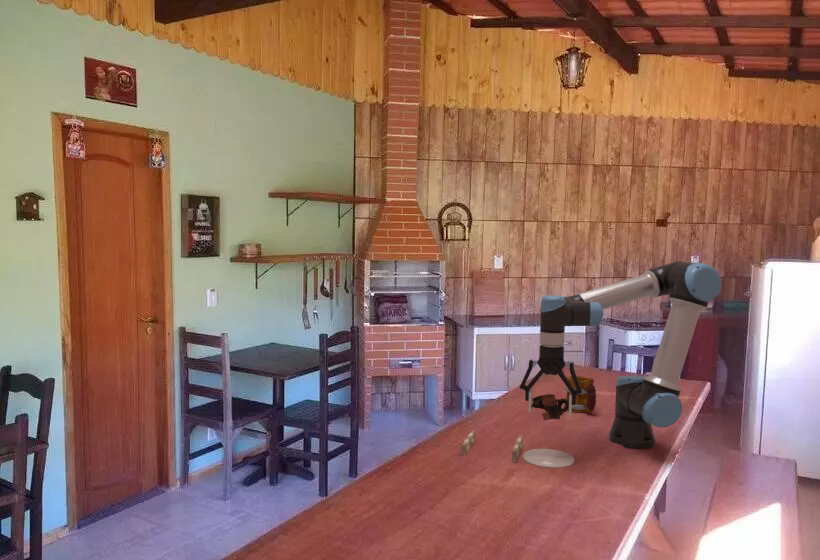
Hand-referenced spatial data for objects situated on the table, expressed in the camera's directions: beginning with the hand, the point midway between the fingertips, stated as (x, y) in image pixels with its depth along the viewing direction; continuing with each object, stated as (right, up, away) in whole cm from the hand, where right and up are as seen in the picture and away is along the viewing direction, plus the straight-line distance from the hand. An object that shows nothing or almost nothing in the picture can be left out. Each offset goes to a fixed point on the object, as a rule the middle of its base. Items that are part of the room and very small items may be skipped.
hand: (549, 413), depth 199 cm
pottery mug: (+2, -3, 0) cm, 3 cm away
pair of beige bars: (-17, -14, +7) cm, 23 cm away
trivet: (0, -15, +1) cm, 15 cm away
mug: (+25, -11, +55) cm, 61 cm away
